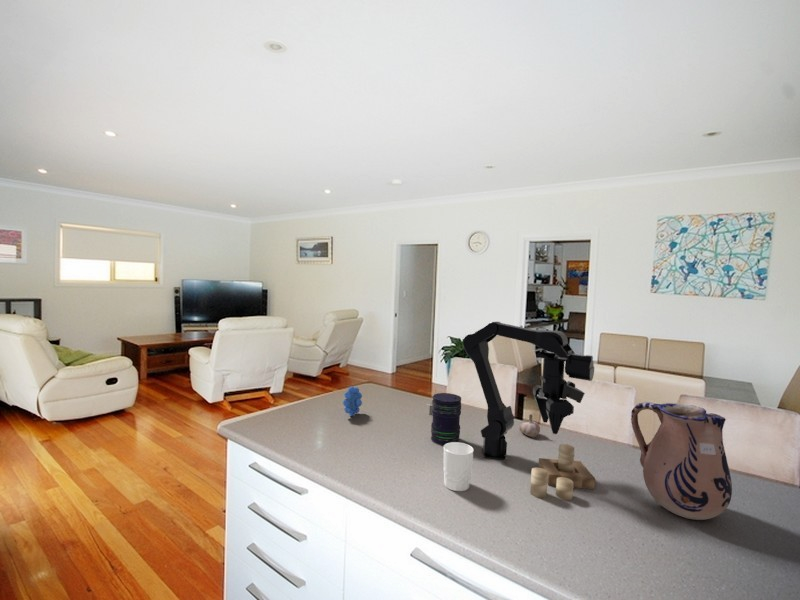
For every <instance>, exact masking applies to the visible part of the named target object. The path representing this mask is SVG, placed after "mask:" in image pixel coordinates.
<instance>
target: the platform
mask: <svg viewBox="0 0 800 600" xmlns="http://www.w3.org/2000/svg"><path fill="white" fill-rule="evenodd" d="M432 403H433V399H432V400H431V402H427V403H426V406H429V413H428V414H429V415H430V416H432V417H433V412H432Z"/></svg>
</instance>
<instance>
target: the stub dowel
mask: <svg viewBox="0 0 800 600" xmlns="http://www.w3.org/2000/svg"><path fill="white" fill-rule="evenodd" d="M555 496H556V497H557V498H559V499H560V500H563V501H571V500H573V496H574V487H573V481H572V480H570V479H568V478H565V477H558V478H557V483H556V486H555Z"/></svg>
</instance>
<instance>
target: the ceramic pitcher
mask: <svg viewBox="0 0 800 600" xmlns="http://www.w3.org/2000/svg"><path fill="white" fill-rule="evenodd" d="M644 410H645V411H646V410H649V411H652V412H653V413H655V414H656V415H657V417H658V420H659V422H660V423H661V424H660V425H659V427H658V429H657V432H656V433H655V434H654V436H653V438H652V439H651V441H650V442H649V443H648V444H647V442H646V441H645V437H644V435H643V433H642V430H641V428H640V425H639V413H641V412H642V411H644ZM630 417H631V418H630V421H631V428H632V430H633V432H634V437H635V439H636V441H637V443H638V445H639V446H638V447H639V450H640V459H639V462H640V465H641V467H642V474H643V479H644V484H645V487H646V488H647V491H648V493H650V495H651V497H652V498H653V499H654V500H655V501H656V503H657V504H659V505H660V506H661V507H663V508H664V509H666V510H667V511H668V512H671V513H672V514H675V516H679V517H681V518H684V519H689V520H696V521H703V520H704V521H705V520H711V519H713V518H715V517H717V516H719V515H721V514H722V513H724V512H725V511H726V510H727V508H728V507H729V505H730V503H731V500H732V495H733V494H732V493H733V486H732V477H731V472H730V467H729V464H728V459H727V455H726V450H725V446H724V439H723V429H724V425H725V422H726V421H727V418H725V417H724V416H722V415H720V414H717V413H708V412H707V410H706V409H705V408H703V407H700V406H696V405H693V404H692V405H691V404H690V405H689V404H680V403H673V402H672V403H670V402H669V403H668V402H667V403H654V402H648V401H646V402H645V401H643V402H639V403H637V404H636V405H635V406H634V407H633V408H632V410H631V415H630Z"/></svg>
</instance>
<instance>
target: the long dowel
mask: <svg viewBox="0 0 800 600" xmlns="http://www.w3.org/2000/svg"><path fill="white" fill-rule="evenodd" d="M557 457H558V458H557V460H558V471H559V472H572V473H573V464H574V461H575V459H574V458H575V447H574V446H573V445H571V444H567V443H560V444H559V445H558V456H557Z"/></svg>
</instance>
